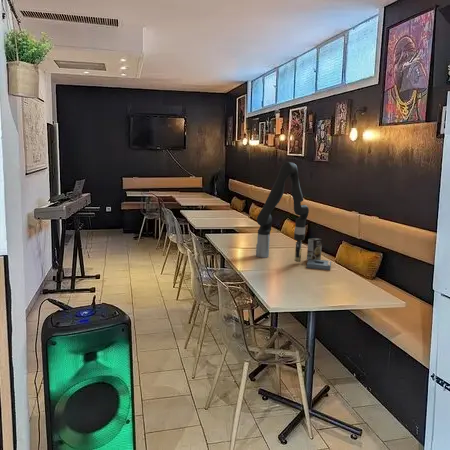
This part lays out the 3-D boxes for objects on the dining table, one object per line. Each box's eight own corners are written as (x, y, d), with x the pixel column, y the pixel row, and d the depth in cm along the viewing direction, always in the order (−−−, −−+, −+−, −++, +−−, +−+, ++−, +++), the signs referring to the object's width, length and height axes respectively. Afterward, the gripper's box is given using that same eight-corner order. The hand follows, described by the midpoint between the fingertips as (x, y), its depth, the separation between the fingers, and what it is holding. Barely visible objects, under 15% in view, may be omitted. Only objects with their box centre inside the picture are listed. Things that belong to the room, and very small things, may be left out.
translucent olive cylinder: (294, 261, 326) (294, 249, 325) (294, 260, 331) (295, 247, 329) (300, 262, 325) (301, 249, 324) (300, 260, 330) (301, 248, 328)
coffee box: (313, 261, 338) (314, 240, 335) (306, 259, 343) (307, 238, 340) (321, 260, 344) (322, 239, 341) (314, 258, 348) (315, 237, 346)
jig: (306, 267, 318) (306, 262, 317) (308, 262, 333) (308, 257, 333) (330, 270, 314) (330, 265, 313) (330, 265, 329) (331, 260, 329)
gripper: (295, 231, 332) (293, 254, 335) (293, 234, 319) (291, 258, 322) (306, 232, 330) (304, 255, 333) (304, 235, 317) (302, 259, 320)
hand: (297, 256), depth 327 cm, fingers closed on translucent olive cylinder, 4 cm apart
